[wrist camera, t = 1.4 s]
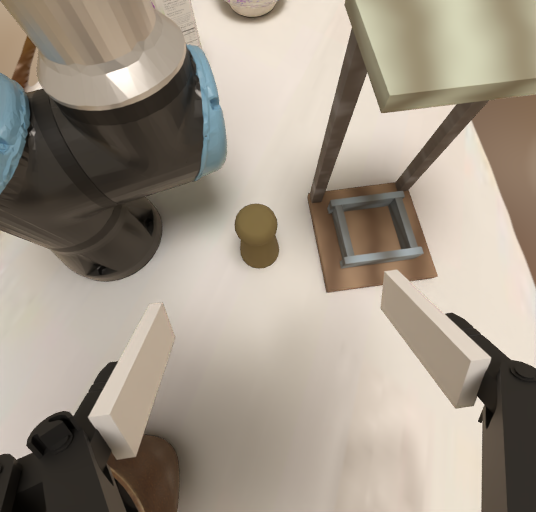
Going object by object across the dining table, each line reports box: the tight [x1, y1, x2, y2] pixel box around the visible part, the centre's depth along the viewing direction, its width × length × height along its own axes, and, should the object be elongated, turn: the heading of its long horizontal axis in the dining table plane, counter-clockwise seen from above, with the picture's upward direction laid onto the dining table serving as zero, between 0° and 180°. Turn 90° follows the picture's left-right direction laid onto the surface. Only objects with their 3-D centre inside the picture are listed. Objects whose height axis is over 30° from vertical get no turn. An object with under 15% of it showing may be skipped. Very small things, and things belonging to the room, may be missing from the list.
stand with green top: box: [307, 0, 536, 292], centre depth 28 cm, size 17×16×27 cm
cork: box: [235, 204, 279, 268], centre depth 36 cm, size 6×6×11 cm
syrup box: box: [151, 0, 202, 50], centre depth 46 cm, size 6×6×14 cm
